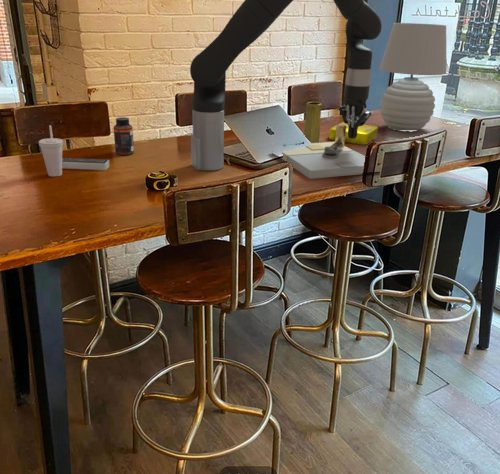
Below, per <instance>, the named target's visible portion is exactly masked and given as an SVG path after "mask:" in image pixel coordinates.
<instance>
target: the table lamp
mask: <svg viewBox="0 0 500 474" xmlns="http://www.w3.org/2000/svg"><path fill="white" fill-rule="evenodd" d="M379 70H380V71H383V72H386V73H387V72H388V73H393V74H402V75H410V76H406V77H403V78H402V79H398V80H397V81H395V82H393V83H392V84H391V85H389V86H388V87H387V88H386V89H385V91H384V92H383V93H382V94H381V100H380V102H379V105H380V106H379V111H380V116H381V119H382V120H383V123H384V124H385V125H386V126H387V127H388V128H389V129H390V128H391V129H390V130H392V129H395V130H418V129H419V130H420V129H423V128H424V127H425V126H426V124H428V123H429V122H430V121H431V117H432V116H433V115H434V112H435V111H434V109H435V107H436V105H435V101H436V98H435V96H434V95H433V94H434V92H433V90H432V89H430V86H429V85H428V84H427V83H424V81H422V80H420V79H419V78H418V77H414V75H415V76H442V75H445V74H447V25H445V24H436V23H435V24H434V23H432V24H431V23H415V22H393V25H392V27H391V31H390V34H389V37H388V41H387V44H386V47H385V50H384V53H383V56H382V60H381V63H380V66H379ZM395 130H394V131H395ZM419 130H418V131H419Z"/></svg>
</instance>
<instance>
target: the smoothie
mask: <svg viewBox="0 0 500 474" xmlns="http://www.w3.org/2000/svg"><path fill="white" fill-rule="evenodd" d="M48 126H49V128H48V129H49V135H50V136H49V138H42V139H40V140H39V141H38V146H39V147H40V149H41V150H40V151H41V153H42V157H43V160H44V164H45V168H46V172H47V175H48V177H59V176H62V175H63V168H62V158H63V145H64V140H63V139H61V138H56V137H55V138H54V137H53V136H54V135H53V129H52V128H53V127H52V125H50V124H49V125H48Z"/></svg>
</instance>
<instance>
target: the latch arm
mask: <svg viewBox="0 0 500 474" xmlns="http://www.w3.org/2000/svg"><path fill="white" fill-rule="evenodd" d="M336 125H337V126H336ZM336 125H335V126H336V136H335V140H334V142H335V143H334V144H332V145H331V146H330V147H325V150H324V154H326V155H331V156H334V155H337V152H338V151H339V150H340V149H341V148H344V146H345V144H346V142H345V135H346V125H338V124H336Z"/></svg>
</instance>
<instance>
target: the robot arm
mask: <svg viewBox="0 0 500 474" xmlns="http://www.w3.org/2000/svg"><path fill="white" fill-rule="evenodd" d="M293 1H294V0H244V1H243V2H242V3H241V4H240V6H239V7H238V9H237V10H236V11H235V12H234V13H233V15H232V16H231V18H230V19H229V20H228V22H227V24H226V25H225V27H224V28H223V29H222V30H221V32H220V33H219V34H218V35H217V37H215V39H214V40H212V42H210V43H209V44H208V46H207V47H205V48H203V50H202V51H201V52H199V53H198V54H197V55H195V57H194V58H193V59H192V61H191V63H190V67H189V73H190V77H191V79H192V81H193V95H192V100H191V101H192V102H191V103H192V108H191V109H192V133H191V134H190V156H191V157H190V161H191V162H190V163H191V166H192V167H193V168H194V169H195V170H196V171H208V172H209V171H210V172H211V171H217V170H218V171H219V170H221V169H223V168H224V165H225V164H224V163H225V162H224V160H225V157H224V156H225V154H224V153H225V151H224V150H225V149H224V147H225V100H226V79H227V77H226V76H227V75H226V73H227V71H228V69H229V68H230V66H231V65H232V63H233V62H234V61H235V60H236V59H237V58H238V56H239V55H240V54H242V52H244V51H245V50H246V49H247V48H248V47H250V45H251V44H253V43H254V42H255V41H256V40H258V39H259V38H260V37H261V35H263V34H264V33H265V32H266V31H267V30H268V29H269V27H270V26H271V25H272V24H273V23H274V22H275V21H276V20H277V19H278V18H279V17H280V15H281V14H282V13H283V12H284V11H285V9H286V8H287V7H288V6H289V5H290V4H291V3H292V2H293ZM333 2H334V4H335V6H336V7H337V9H338V11H339V13H340V14H341V16H342V17H343V19H346V20H347V21H346V24H345V37H346V43H347V49H348V60H347V61H348V62H347V71H346V75H345V84H344V85H345V86H344V94H343V97H344V99H345V101H344V104H343V105H341V106H339V107H338V109H339V112H340V115H341V118H342V120H343V122H344V123H347V124H348V126H349V127H348V138H351V139H355V138H356V137H357V130H358V127H359V126H363V125H365V123H366V122H367V121H368V119H369V118H370V117H371V116H372V112H371V111H368V110H367V100H368V99H369V97H370V96H369V95H370V94H369V93H370V85H371V78H372V77H371V76H372V75H371V74H372V72H371V69H372V61H373V51H372V49H370V48H368V47H366V46H364V44H363V40H366V41H370V40H371V41H372V40H374V39H377V38H378V37H379V36H380V34H381V32H382V27H383V26H382V20H381V18H380V15H379V14H378V13H377V12H376V11H375V10H374V9H373V8H372V6H370V5H369V4H368V3H367V2H366V1H365V0H333Z"/></svg>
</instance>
